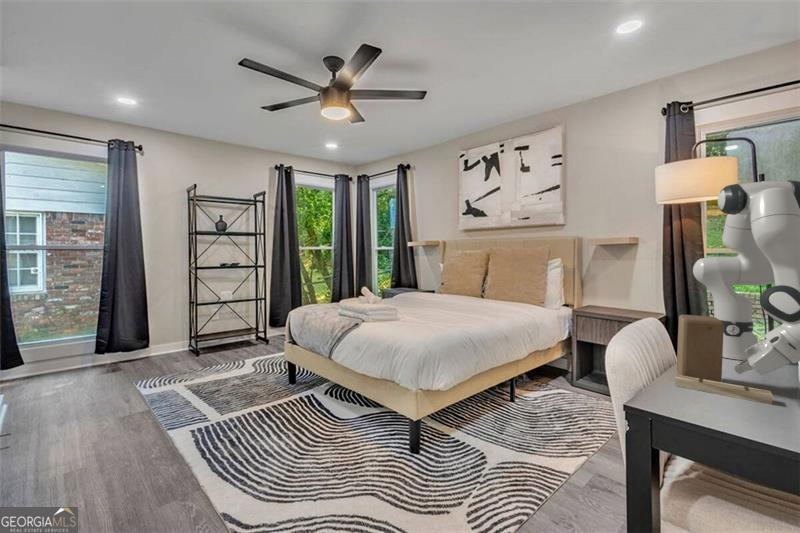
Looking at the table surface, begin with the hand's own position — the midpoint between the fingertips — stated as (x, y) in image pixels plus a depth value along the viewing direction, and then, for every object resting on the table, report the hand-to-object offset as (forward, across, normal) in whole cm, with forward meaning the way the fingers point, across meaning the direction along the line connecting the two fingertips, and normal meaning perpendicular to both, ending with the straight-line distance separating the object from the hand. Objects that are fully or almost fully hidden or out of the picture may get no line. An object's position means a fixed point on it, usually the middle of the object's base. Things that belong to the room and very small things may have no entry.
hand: (736, 370), depth 111 cm
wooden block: (+10, -2, -3) cm, 10 cm away
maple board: (+6, +9, +1) cm, 11 cm away
